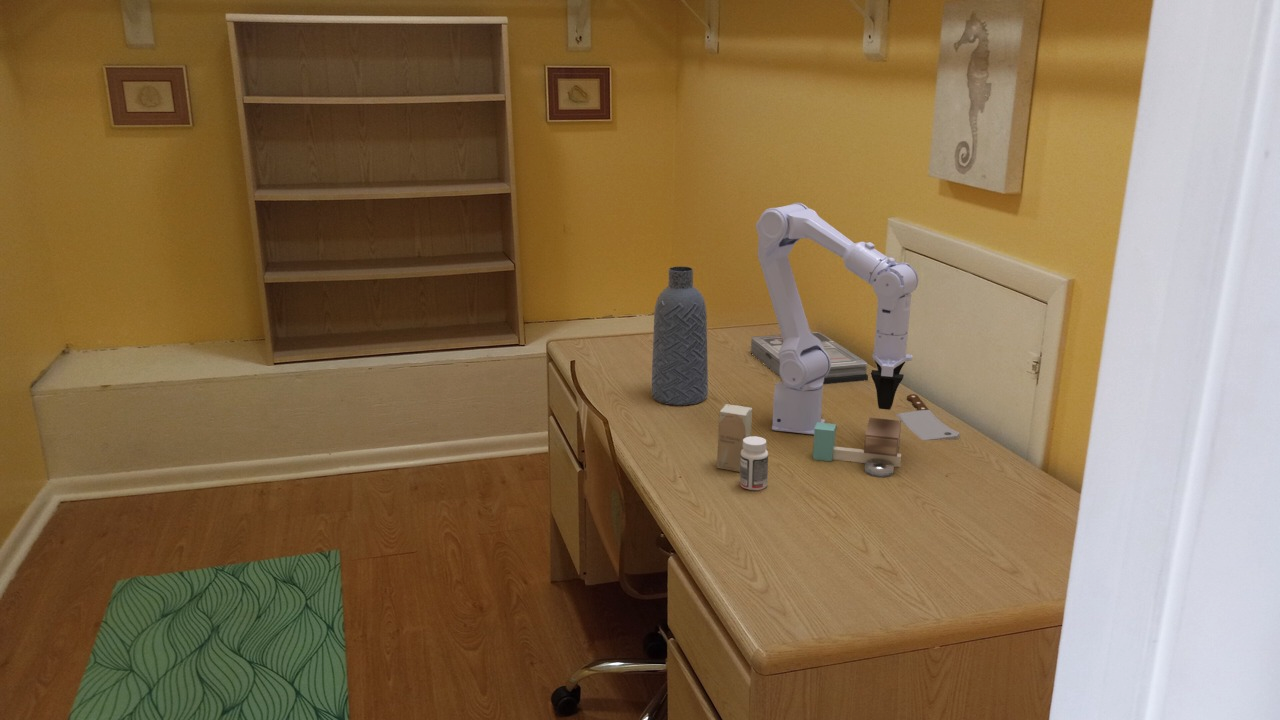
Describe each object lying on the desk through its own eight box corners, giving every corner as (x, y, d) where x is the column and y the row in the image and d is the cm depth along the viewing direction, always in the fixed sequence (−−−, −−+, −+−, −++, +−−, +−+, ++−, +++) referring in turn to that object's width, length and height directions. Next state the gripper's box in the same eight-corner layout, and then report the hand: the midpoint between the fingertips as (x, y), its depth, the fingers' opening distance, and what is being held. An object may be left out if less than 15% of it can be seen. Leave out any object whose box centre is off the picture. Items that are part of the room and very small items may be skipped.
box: (716, 468, 180) (717, 410, 177) (723, 459, 184) (724, 403, 180) (744, 472, 178) (746, 414, 175) (750, 463, 182) (752, 406, 179)
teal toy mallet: (812, 459, 184) (814, 428, 182) (815, 452, 187) (817, 422, 185) (899, 469, 180) (902, 438, 178) (900, 461, 183) (903, 431, 181)
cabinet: (862, 471, 179) (865, 434, 177) (866, 452, 187) (869, 417, 185) (895, 475, 177) (898, 438, 175) (898, 456, 185) (901, 420, 183)
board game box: (792, 388, 223) (793, 370, 221) (749, 354, 248) (750, 336, 246) (867, 382, 227) (869, 363, 226) (818, 348, 252) (819, 331, 251)
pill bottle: (769, 481, 175) (771, 437, 172) (763, 492, 170) (765, 447, 168) (743, 478, 176) (744, 433, 174) (736, 488, 172) (738, 443, 169)
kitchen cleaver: (879, 395, 215) (925, 393, 216) (879, 400, 216) (925, 397, 216) (911, 439, 192) (963, 436, 192) (911, 444, 193) (962, 441, 193)
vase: (695, 385, 224) (697, 261, 215) (716, 403, 213) (719, 272, 204) (643, 391, 220) (643, 265, 212) (662, 409, 209) (663, 277, 201)
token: (863, 476, 177) (863, 468, 177) (865, 465, 182) (866, 457, 181) (892, 479, 176) (892, 471, 175) (894, 468, 180) (894, 460, 180)
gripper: (913, 344, 173) (906, 417, 178) (915, 322, 187) (909, 391, 191) (871, 340, 175) (866, 413, 179) (876, 319, 189) (871, 387, 193)
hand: (885, 401), depth 185 cm, fingers open, 7 cm apart
